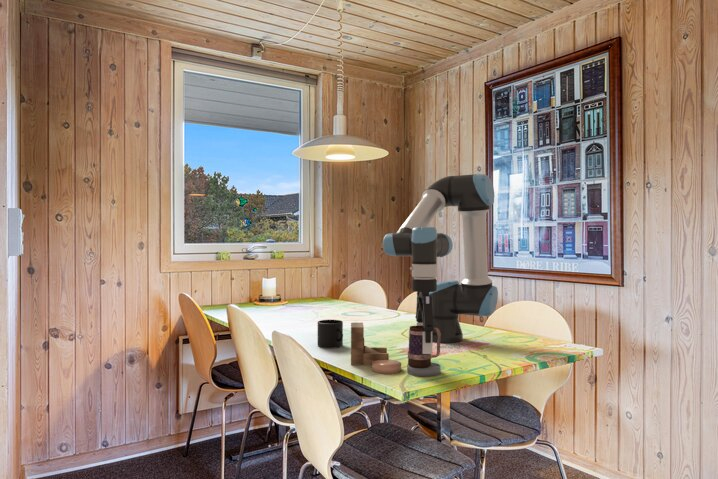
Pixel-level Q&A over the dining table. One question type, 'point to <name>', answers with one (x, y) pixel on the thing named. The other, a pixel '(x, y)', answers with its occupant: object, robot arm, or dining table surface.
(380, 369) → the pink disc
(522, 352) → the dining table surface
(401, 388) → the dining table surface
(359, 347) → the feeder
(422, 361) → the mug
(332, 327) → the mug
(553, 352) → the dining table surface
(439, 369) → the stand slate
